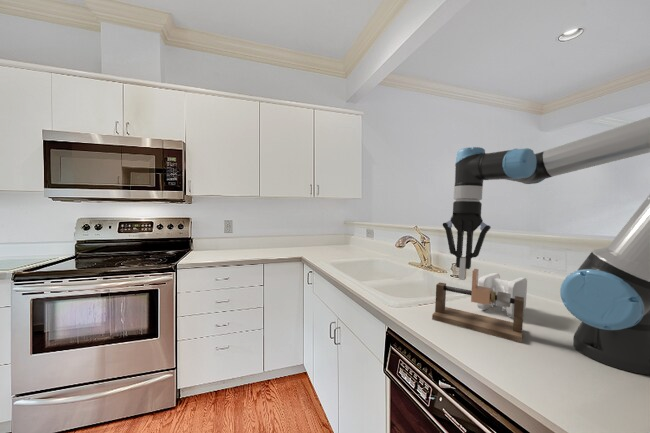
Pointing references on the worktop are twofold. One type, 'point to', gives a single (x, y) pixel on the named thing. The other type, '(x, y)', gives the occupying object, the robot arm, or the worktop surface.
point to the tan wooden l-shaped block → (479, 291)
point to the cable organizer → (503, 290)
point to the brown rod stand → (479, 321)
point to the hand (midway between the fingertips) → (462, 278)
